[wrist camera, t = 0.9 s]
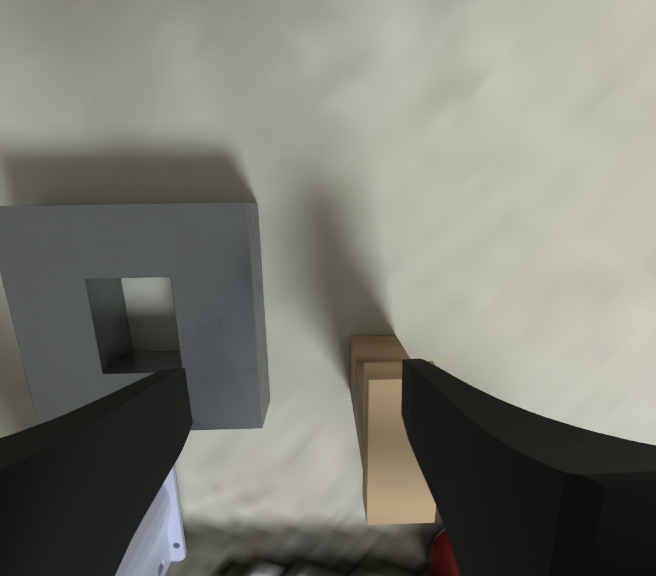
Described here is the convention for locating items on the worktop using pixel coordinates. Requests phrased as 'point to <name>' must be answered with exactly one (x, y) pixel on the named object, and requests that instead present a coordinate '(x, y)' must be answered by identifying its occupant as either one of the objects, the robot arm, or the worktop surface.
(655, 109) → the worktop surface
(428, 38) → the worktop surface
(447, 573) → the soda can
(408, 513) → the tall cardboard box
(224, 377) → the flat gray square plate
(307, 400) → the worktop surface
